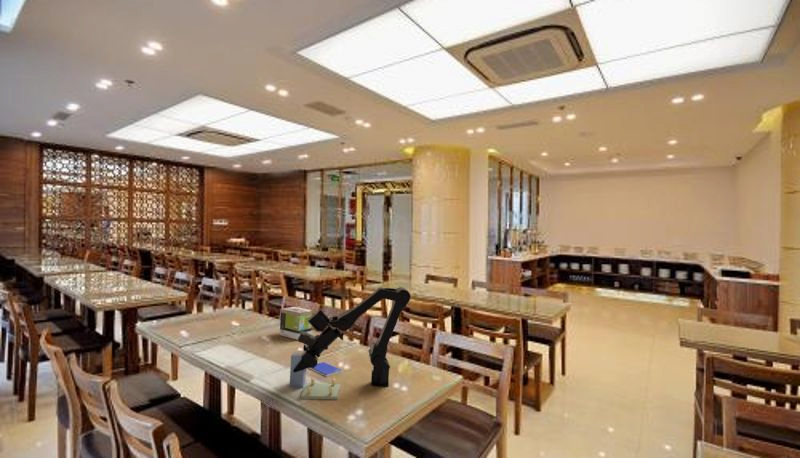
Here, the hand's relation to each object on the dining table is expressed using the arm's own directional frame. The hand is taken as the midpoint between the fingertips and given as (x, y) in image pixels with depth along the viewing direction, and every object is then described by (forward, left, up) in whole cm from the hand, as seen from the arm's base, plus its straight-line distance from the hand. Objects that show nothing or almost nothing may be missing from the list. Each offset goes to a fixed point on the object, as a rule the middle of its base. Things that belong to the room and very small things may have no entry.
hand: (294, 367), depth 151 cm
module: (-1, 0, -7) cm, 7 cm away
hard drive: (-10, -16, -7) cm, 20 cm away
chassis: (-11, +6, -7) cm, 14 cm away
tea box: (+13, -64, -7) cm, 66 cm away
